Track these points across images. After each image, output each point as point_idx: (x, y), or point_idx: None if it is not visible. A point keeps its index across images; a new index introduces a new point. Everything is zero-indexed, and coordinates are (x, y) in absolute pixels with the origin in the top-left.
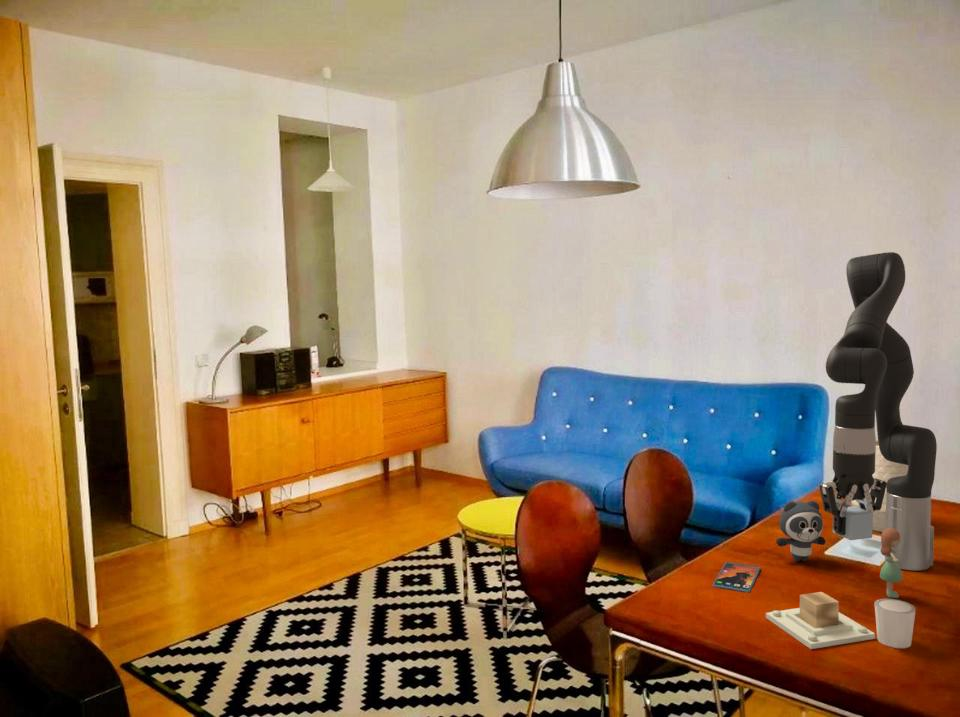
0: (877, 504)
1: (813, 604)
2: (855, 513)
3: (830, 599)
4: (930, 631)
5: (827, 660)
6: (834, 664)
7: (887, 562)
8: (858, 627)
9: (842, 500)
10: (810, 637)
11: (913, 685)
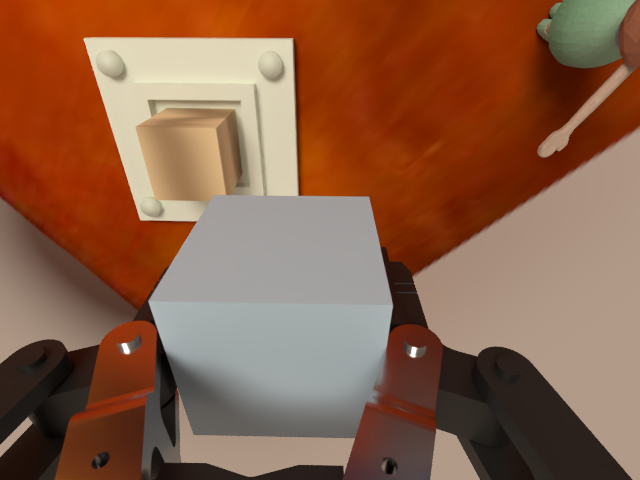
0: (476, 459)
1: (153, 188)
2: (247, 422)
3: (212, 182)
4: (434, 225)
5: (159, 253)
6: (165, 266)
7: (614, 25)
8: None
9: (155, 455)
10: (142, 211)
11: None
